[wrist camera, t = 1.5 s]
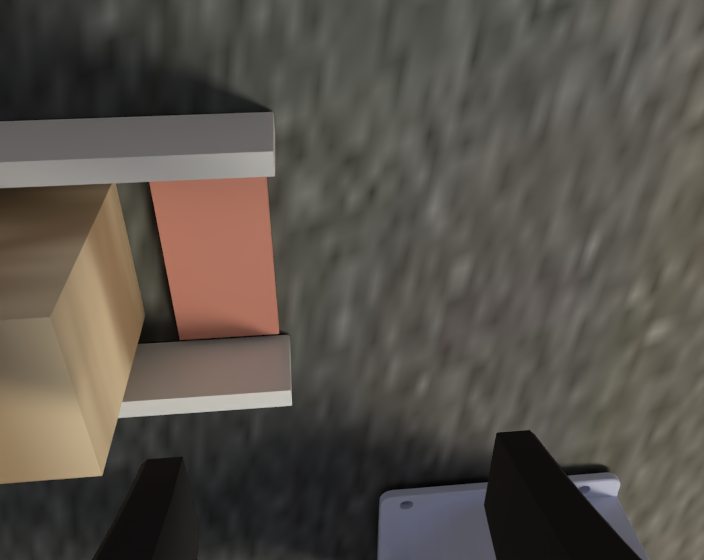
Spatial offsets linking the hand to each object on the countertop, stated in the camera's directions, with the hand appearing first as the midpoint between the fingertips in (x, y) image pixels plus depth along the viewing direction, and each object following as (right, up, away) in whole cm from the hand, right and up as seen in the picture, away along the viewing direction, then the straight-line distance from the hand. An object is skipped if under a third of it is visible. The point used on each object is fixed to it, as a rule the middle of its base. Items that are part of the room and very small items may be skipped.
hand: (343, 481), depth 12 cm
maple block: (-8, +4, +6) cm, 11 cm away
